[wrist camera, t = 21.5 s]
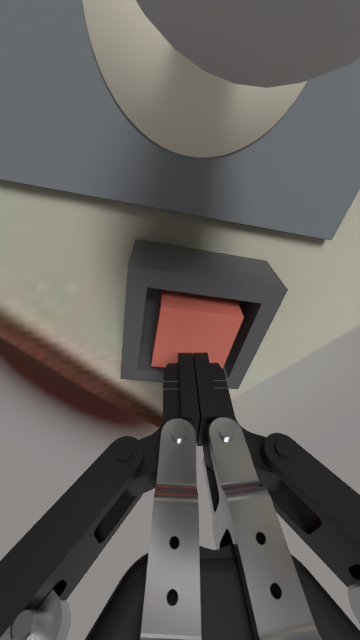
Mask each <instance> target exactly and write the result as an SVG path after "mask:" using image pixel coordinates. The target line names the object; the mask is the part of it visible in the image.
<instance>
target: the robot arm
mask: <svg viewBox="0 0 360 640" xmlns="http://www.w3.org/2000/svg"><path fill="white" fill-rule="evenodd" d="M196 441H197V446H203V452H204V459H203V466H204V471H205V477H206V483H207V488H208V493H209V499H210V505H211V510H212V522H213V534H214V540H215V546H216V550H211V549H208V548H204V547H201V546H199V517H198V515H199V513H198V493H197V485H196ZM154 488H156V489H155V494H154V503H153V513H152V524H151V534H150V545H149V553H147V554H145V555H144V556H142V557H141V558H140V559H138V560H137V561H136V562H135V563H134V564H133V565H132V566H131V567H130V568H129V569H128V571H127V572H126V573H125V574H124V576H123V577H122V579H121V581H120V582H119V584H118V585H117V587H116V589H115V590H114V592H113V594H112V595H111V597H110V599H109V600H108V602H107V604H106V605H105V607H104V609H103V610H102V612H101V614H100V615H99V617H98V619H97V620H96V622H95V624H94V625H93V627H92V629H91V630H90V632H89V634H88V635H87V637H86V639H85V640H360V631H359V629H358V628H357V627H356V626H355V625H354V624H353V622H352V621H351V620H350V619H349V618H348V616H347V615H346V614H345V613H344V612H343V611H342V609H341V608H340V607H339V606H338V605H337V604H336V602H335V601H334V600H333V599H332V598H331V597H330V595H329V594H328V593H327V592H326V591H325V589H324V588H323V587H322V586H321V585H320V584H319V582H318V581H317V580H316V579H315V578H314V577H313V575H312V574H311V573H310V572H309V571H308V570H307V569H306V567H305V566H303V564H302V563H301V562H299V561H298V560H297V559H296V558H295V557H294V556H292V555H291V554H290V551H289V548H288V546H287V543H286V540H285V537H284V534H283V532H282V528H281V525H280V522H279V520H278V517H277V514H276V512H277V513H278V514H279V515H280V516H281V517H282V518H283V519H284V521H285V522H286V523H287V524H288V525H289V526H290V527H291V528H292V529H293V530H294V531H295V532H296V533H297V534H298V535H299V536H300V537H301V539H302V540H303V541H304V542H305V543H306V544H307V545H308V546H309V547H310V548H311V549H312V550H313V551H314V552H315V553H316V554H317V555H318V556H319V558H321V560H322V561H323V562H324V563H325V564H326V565H327V566H328V567H329V568H330V569H331V570H332V571H333V572H334V573H335V574H336V575H337V577H338V578H339V579H340V580H341V581H342V582H343V583H344V584H345V585H346V586H347V587H348V597H349V602H350V605H351V608H352V611H353V613H354V615H355V617H356V618H357V620H358V622H359V623H360V495H359V494H358V493H357V492H355V491H354V490H353V489H351V487H349V486H348V485H347V484H346V483H344V482H343V481H342V480H341V479H340V478H338V477H337V476H336V475H335V474H333V473H332V472H331V471H330V470H329V469H328V468H326V467H325V466H324V465H323V464H321V463H320V462H319V461H318V460H317V459H315V458H314V457H313V456H312V455H311V454H309V453H308V452H307V451H306V450H305V449H303V448H302V447H301V446H300V445H299V444H297V443H296V442H295V441H294V440H292V439H291V438H290V437H288V436H286V435H284V434H281V433H273V434H270V435H269V436H268V437H264V436H260V435H256V434H254V433H251V432H248V431H246V430H245V429H244V428H242V427H241V426H240V425H239V424H238V422H237V420H236V418H235V415H234V411H233V407H232V403H231V398H230V394H229V390H228V386H227V381H226V377H225V373H224V370H223V369H222V367H221V366H220V365H219V363H210V362H209V357H208V353H207V352H203V353H193V354H192V353H178V361H177V363H168V364H167V366H166V368H165V370H164V373H163V421H162V424H161V426H160V428H159V429H158V430H157V431H156V432H155V433H154V434H152V435H150V436H148V437H145V438H142V439H140V440H137V439H136V438H133V437H130V436H125V437H121V438H118V439H117V440H115V441H114V442H113V443H112V444H111V445H110V446H109V447H108V448H107V449H106V450H105V451H104V452H103V453H102V454H101V456H100V457H98V458H97V460H96V461H95V462H94V463H93V464H92V465H91V466H90V467H89V468H88V469H87V470H86V471H85V472H84V473H83V474H82V475H81V476H80V478H78V480H77V481H76V482H75V483H74V484H73V485H72V486H71V487H70V488H69V489H68V490H67V491H66V492H65V493H64V494H63V495H62V496H61V498H60V499H59V500H58V501H57V502H56V503H55V504H54V505H53V506H52V507H51V508H50V509H49V510H48V511H47V512H46V513H45V514H44V515H43V517H42V518H41V519H40V520H39V521H38V522H37V523H36V524H35V525H34V526H33V527H32V528H31V529H30V530H29V531H28V532H27V533H26V534H25V536H24V537H23V538H22V539H21V540H20V541H19V542H18V543H17V544H16V545H15V546H14V547H13V548H12V549H11V550H10V551H9V552H8V553H7V554H6V556H5V557H4V558H3V559H2V560H1V561H0V640H66V638H67V635H68V631H69V627H70V618H71V616H70V608H69V605H68V603H67V601H66V600H67V598H68V597H69V595H70V594H71V593H72V591H73V590H74V589H75V587H76V586H77V584H78V583H79V582H80V580H81V579H82V578H83V576H84V575H85V573H86V572H87V571H88V569H89V568H90V567H91V565H92V564H93V562H94V561H95V560H96V558H97V557H98V555H99V554H100V553H101V551H102V550H103V549H104V547H105V546H106V544H107V543H108V542H109V540H110V539H111V538H112V536H113V535H114V534H115V532H116V531H117V529H118V528H119V527H120V525H121V524H122V522H123V521H124V519H125V518H126V517H127V516H128V514H129V513H130V511H131V510H132V509H133V507H134V506H135V504H136V503H137V502H138V500H139V499H140V498H141V496H142V495H143V493H145V492H147V491H149V490H152V489H154Z"/></svg>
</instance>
